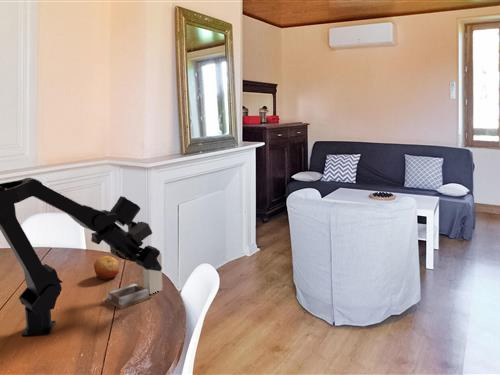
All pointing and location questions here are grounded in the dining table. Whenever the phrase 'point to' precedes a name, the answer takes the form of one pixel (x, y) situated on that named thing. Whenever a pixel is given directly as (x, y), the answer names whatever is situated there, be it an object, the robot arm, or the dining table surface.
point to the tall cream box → (153, 278)
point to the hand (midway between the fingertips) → (151, 265)
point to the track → (128, 296)
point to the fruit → (106, 267)
